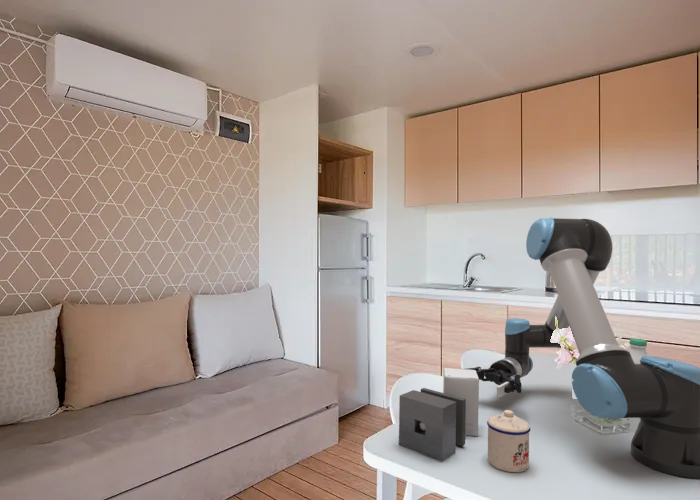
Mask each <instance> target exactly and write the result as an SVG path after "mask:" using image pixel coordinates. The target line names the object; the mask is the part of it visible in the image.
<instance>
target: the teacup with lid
mask: <svg viewBox="0 0 700 500" xmlns="http://www.w3.org/2000/svg"><path fill="white" fill-rule="evenodd" d="M486 424H487V461H488V462H489V464H490V465H491V466H493V467H494V468H495V469H498V470H501V471H504V472H508V473H522V472H524V471H527V470H528V469H529V466H530V464H529V463H530V458H529V457H530V432H531V427H530V424H529V423H528V422H527V421H526V420H525V419H523V418H521V417H518V416H517V415H514V412H513V411H512V410H510V409H505V410H504V411H503V413H500V414H496V415H492V416H490V417H489V418H488V419H487V422H486Z"/></svg>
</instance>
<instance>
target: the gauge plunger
mask: <svg viewBox="0 0 700 500" xmlns="http://www.w3.org/2000/svg"><path fill="white" fill-rule="evenodd" d="M420 392H423V393H426V394H430V395H433V396H437V397H441V398H444V399H448V400H452V401H455V402H456V445H457V446H460V447H463V446H465V445H466V435H465V421H466V399H464V398H460V397H456V396H453V395H449V394H445V393H443V392H441V391H436V390H433V389H429V388H426V387H422V388H420ZM419 426H420V428H421V429H422V430H426V423H425V422H422V421H421V422H420V424H419Z"/></svg>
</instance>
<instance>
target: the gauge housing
mask: <svg viewBox="0 0 700 500" xmlns="http://www.w3.org/2000/svg"><path fill="white" fill-rule="evenodd" d="M398 402H399V405H398V406H399V412H398V415H399V416H398V417H399V418H398V445H399V446H401V447H404V448H406V449H408V450H410V451H413V452H416V453H418V454H421V455H424V456H426V457H429V458H431V459H434V460H437V461H439V462H441V463H442V462H444V461H446V460H447V459H449V458H451V456H453V455H455V454H456V452H457V451H456V447H457V446H456V445H457V444H456V402H455V401H452V400H448V399H444V398H441V397H437V396H433V395H430V394H426V393H423V392H421V391H418V390H416V389H415V390H414V389H413V390H410V391H408V392H404V393H403V394H400V395H399V401H398ZM421 421H422V422H425V423H426V430H422V429H421V428H420V426H419V424H420V422H421Z"/></svg>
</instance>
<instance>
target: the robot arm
mask: <svg viewBox="0 0 700 500" xmlns="http://www.w3.org/2000/svg"><path fill="white" fill-rule="evenodd" d="M525 243H526V244H525V246H526V252H527V255H528V257H529V258H531V259H532V260H535V261H536V260H538V261H539V262H540V266H541V267H542V270H543V271H544V272H547V273H550V276H551V279H552V281H553V284H554V287H555V290H556V292H557V294H558V295H557V298H556V299H555V301H554V303H553V306H552V308H551V310H550V312H549V314H548V316H547V319H546V321H545V323H544V324H530V321H529V320H528V319H527V318H526V319H525V318H516V317H515V318H514V317H511V318H507V319H506V322H505V328H504V337H505V339H504V344H505V348H504V358H501V359H499V360H497V361H495V362H493V363H491V365H490V366H489V368H482V366H476V367H470V368H469V367H468V368H466V369H468V370H476V373H477V375H478V378H479V381H480V380H481V381H482V382H491V383H494V384H496V385H497V386H496V397H497V398H502V397H503V396H504V395H506V394H510V393H515V392H516V393H517V394H521V393H522V382H521V378H524V377H526V376H528V375H529V374H530V372H531V371H533V368H534V367H533V366H534V363H533V360H532V358H531V356H530V349H531V348H532V349H533V348H550V349H553V348H555V349H561V346H560V344H558V343H551V342H550V339H551V336H552V333H553V331H554V330H555V329H556V326H555V316H556V317H557V320H558V328H559V329H562V328H568V327H569V326H570V328H571V331H572V334H573V337H574V338H573V339H574V342H575V345H576V347H577V351H578V354H579V355H578V357H577V359H575V364H576V367H574V369H573V371H572V374H571V379H572V380H571V384H572V385H571V386H572V390H573V393H574V395H575V397H576V399H577V402H579V405H580V406H581V407H582V408H583V409H584V410H585V411H586V412H588V413H589V414H590V415H592V416H593V417H596V418H600V419H611V420H620V419H634V418H635V419H637V418H638V419H639V422H638V425H637V427H636V430H635V432H634V435H633V437H632V440H631V442H630V443H631V444H630V454H631V456H632V457H633V459H635V460H636V461H638V462H640V463H641V464H643V465H645V466H646V467H649V468H652V469H654V470H657V471H659V472H661V473H666V474H669V475H673V476H676V477H682V478H688V479H689V478H690V479H700V368H699V367H698V366H696V365H694V364H691V363H687V362H683V361H680V360H676V359H672V358H671V359H670V358H665V357H660V356H655V355H648V356H646V355H645V356H642V357H641V360H640V364H634V361H633V359H632V357H631V355H630V352H629V351H630V350H628V349H626V348H623V347H621V346H620V345H619V343H618V341H617V338H616V336H615V333H614V331H613V329H612V326H611V324H610V322H609V319H608V317H607V314H606V312H605V310H604V307H603V305H602V302H601V300H600V297H599V295H598V293H597V291H596V288H595V285H594V283H595V282H596V280H597V278H598V276H599V274H600V273H601V272H604V271H606V269H607V267H608V265H609V263H610V261H611V258H612V254H613V241H612V237H611V235H610V232H609V231H608V230H607V228H606V227H605V226H604V225H603V224H602V223H600V222H599V221H596V220H593V219H589V218H553V217H546V218H545V217H544V218H538V219H537V220H535V221H534V222H533V223H532V224H531V225H530V227H529V229H528V232H527V236H526V242H525Z"/></svg>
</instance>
